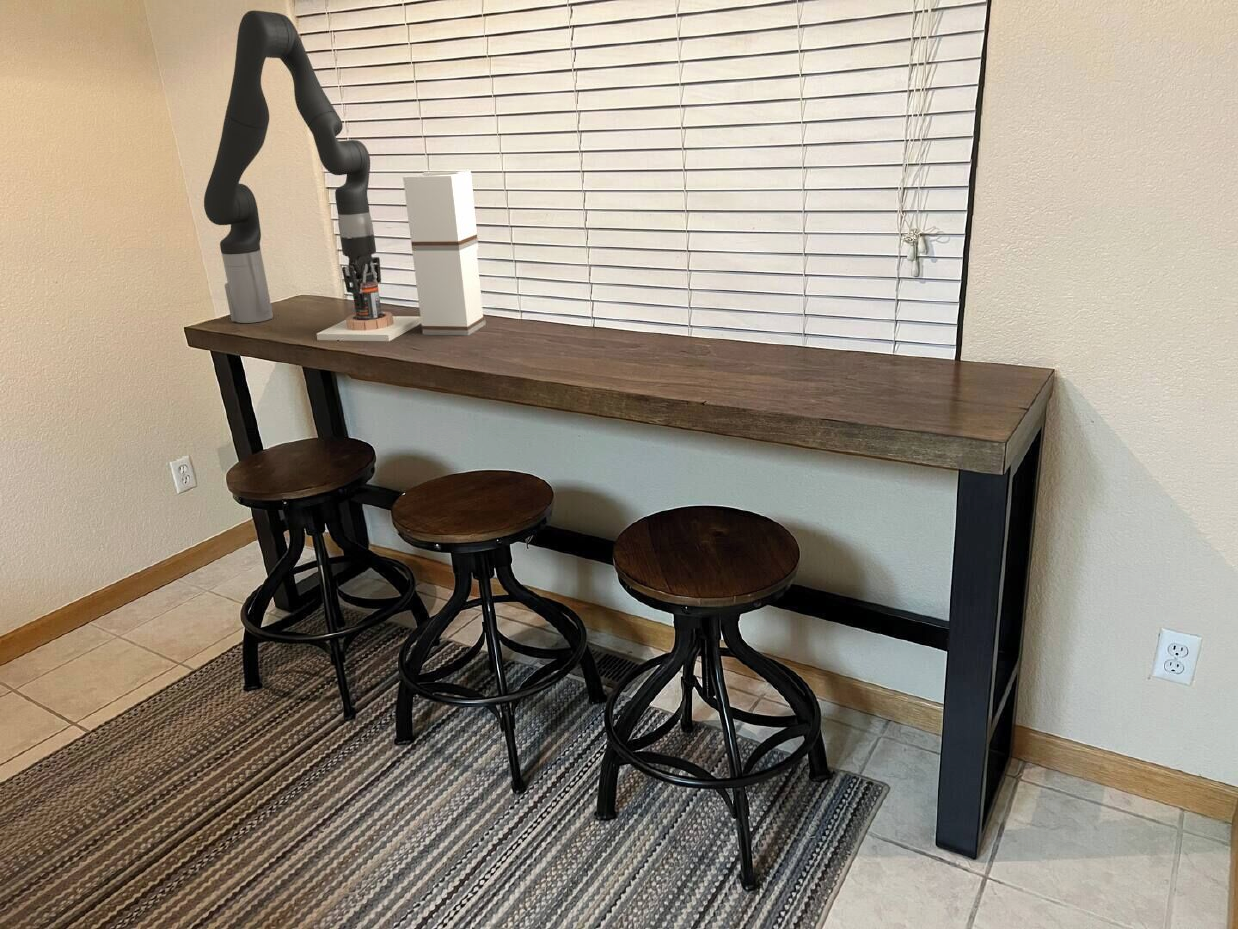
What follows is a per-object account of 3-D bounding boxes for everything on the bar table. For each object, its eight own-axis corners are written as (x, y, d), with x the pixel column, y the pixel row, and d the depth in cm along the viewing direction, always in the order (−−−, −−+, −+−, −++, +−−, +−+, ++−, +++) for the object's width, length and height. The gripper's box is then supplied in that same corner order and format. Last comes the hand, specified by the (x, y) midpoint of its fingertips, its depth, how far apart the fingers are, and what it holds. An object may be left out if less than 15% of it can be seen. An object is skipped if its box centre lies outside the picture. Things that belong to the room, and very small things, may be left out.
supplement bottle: (351, 323, 215) (344, 275, 210) (365, 318, 220) (358, 270, 216) (374, 324, 213) (367, 275, 209) (387, 318, 218) (380, 271, 214)
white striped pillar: (485, 324, 219) (470, 171, 206) (468, 335, 209) (451, 175, 196) (441, 323, 222) (424, 172, 208) (422, 334, 212) (402, 176, 199)
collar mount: (317, 340, 211) (314, 325, 210) (355, 321, 227) (353, 307, 226) (388, 341, 207) (386, 326, 206) (422, 322, 223) (420, 308, 222)
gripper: (357, 228, 216) (367, 299, 222) (325, 238, 203) (337, 313, 209) (386, 228, 214) (395, 299, 221) (356, 238, 201) (367, 313, 208)
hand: (367, 305), depth 215 cm, fingers closed on supplement bottle, 6 cm apart
